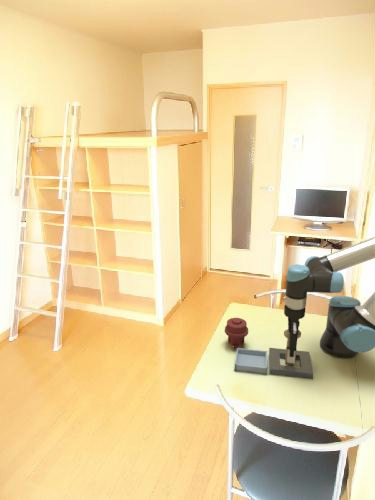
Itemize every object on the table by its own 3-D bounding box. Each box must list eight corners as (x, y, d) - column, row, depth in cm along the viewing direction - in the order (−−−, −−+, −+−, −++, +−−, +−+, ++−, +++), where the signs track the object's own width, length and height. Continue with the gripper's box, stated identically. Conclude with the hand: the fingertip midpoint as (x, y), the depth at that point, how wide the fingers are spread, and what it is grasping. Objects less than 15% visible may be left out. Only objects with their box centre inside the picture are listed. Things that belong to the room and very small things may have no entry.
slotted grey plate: (308, 356, 145) (309, 351, 144) (312, 379, 132) (313, 373, 131) (268, 352, 148) (269, 347, 147) (269, 374, 135) (269, 368, 135)
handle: (300, 368, 138) (303, 335, 133) (284, 370, 138) (287, 336, 133) (294, 360, 143) (297, 328, 138) (279, 362, 142) (282, 329, 137)
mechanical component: (248, 339, 158) (247, 353, 148) (225, 337, 160) (223, 350, 150) (249, 315, 154) (248, 327, 144) (226, 313, 156) (223, 325, 146)
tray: (266, 357, 145) (267, 351, 144) (266, 374, 135) (267, 368, 134) (236, 354, 148) (237, 347, 147) (234, 371, 137) (234, 364, 136)
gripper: (283, 294, 140) (279, 345, 148) (285, 315, 125) (281, 371, 132) (303, 296, 139) (298, 347, 146) (308, 317, 123) (302, 373, 131)
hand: (290, 358), depth 139 cm, fingers closed on handle, 4 cm apart
